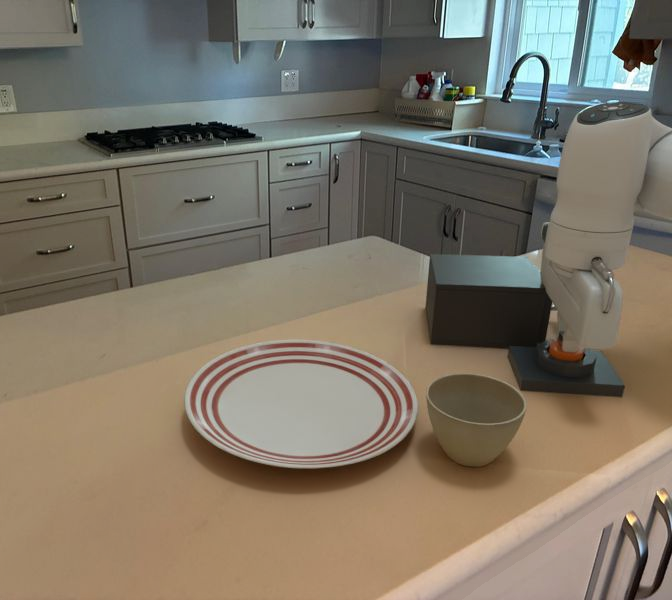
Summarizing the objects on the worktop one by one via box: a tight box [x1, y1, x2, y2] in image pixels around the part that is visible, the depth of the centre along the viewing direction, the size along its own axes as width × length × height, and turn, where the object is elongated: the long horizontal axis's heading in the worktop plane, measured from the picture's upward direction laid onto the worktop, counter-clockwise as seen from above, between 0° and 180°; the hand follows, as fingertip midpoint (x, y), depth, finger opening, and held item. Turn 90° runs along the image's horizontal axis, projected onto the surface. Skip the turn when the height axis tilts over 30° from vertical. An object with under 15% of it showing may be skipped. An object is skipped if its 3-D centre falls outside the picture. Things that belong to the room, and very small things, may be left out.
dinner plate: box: [183, 339, 419, 469], centre depth 74 cm, size 28×27×3 cm
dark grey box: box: [424, 253, 546, 350], centre depth 92 cm, size 15×13×10 cm
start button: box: [548, 341, 584, 361], centre depth 79 cm, size 4×4×2 cm
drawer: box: [531, 263, 558, 344], centre depth 91 cm, size 18×11×8 cm, turn 81°
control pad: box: [507, 339, 626, 398], centre depth 80 cm, size 12×9×4 cm
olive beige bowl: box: [425, 372, 528, 468], centre depth 65 cm, size 10×10×7 cm
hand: (566, 347), depth 79 cm, fingers closed, pressing on start button
